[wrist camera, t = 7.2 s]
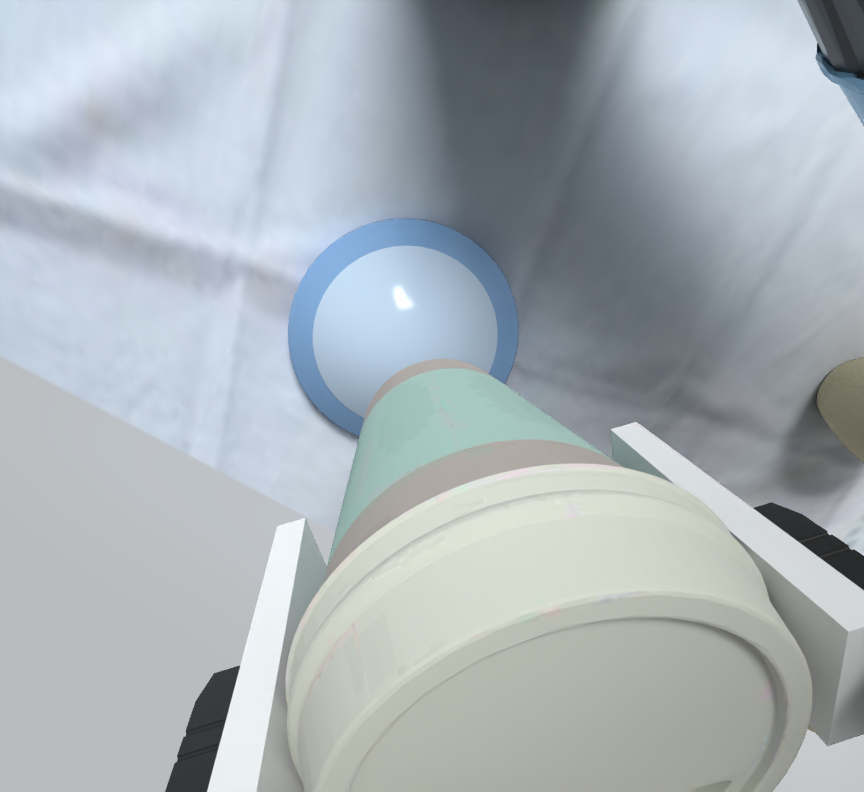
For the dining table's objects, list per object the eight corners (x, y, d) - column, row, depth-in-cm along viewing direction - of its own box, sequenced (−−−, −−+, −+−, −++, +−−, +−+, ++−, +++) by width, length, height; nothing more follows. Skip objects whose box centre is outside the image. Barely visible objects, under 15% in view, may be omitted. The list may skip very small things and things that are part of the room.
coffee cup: (308, 508, 18) (229, 977, 7) (348, 296, 15) (324, 507, 4) (507, 532, 20) (695, 927, 9) (574, 347, 17) (969, 584, 6)
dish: (253, 253, 27) (249, 255, 26) (492, 191, 28) (497, 190, 27) (333, 462, 33) (332, 470, 32) (528, 406, 34) (534, 412, 33)
